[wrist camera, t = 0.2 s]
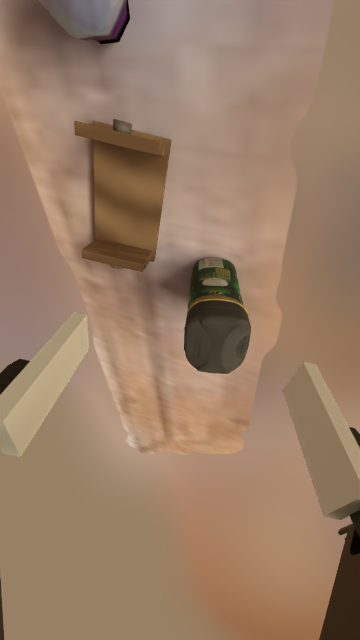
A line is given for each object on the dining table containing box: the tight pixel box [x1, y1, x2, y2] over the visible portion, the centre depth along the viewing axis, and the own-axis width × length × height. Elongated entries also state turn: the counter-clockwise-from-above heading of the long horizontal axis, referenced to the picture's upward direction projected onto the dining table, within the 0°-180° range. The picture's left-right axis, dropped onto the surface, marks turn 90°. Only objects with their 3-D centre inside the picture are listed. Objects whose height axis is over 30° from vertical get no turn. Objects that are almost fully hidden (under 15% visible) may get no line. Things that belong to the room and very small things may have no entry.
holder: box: [74, 119, 171, 272], centre depth 32 cm, size 17×10×7 cm, turn 169°
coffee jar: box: [184, 258, 251, 374], centre depth 33 cm, size 10×8×19 cm
